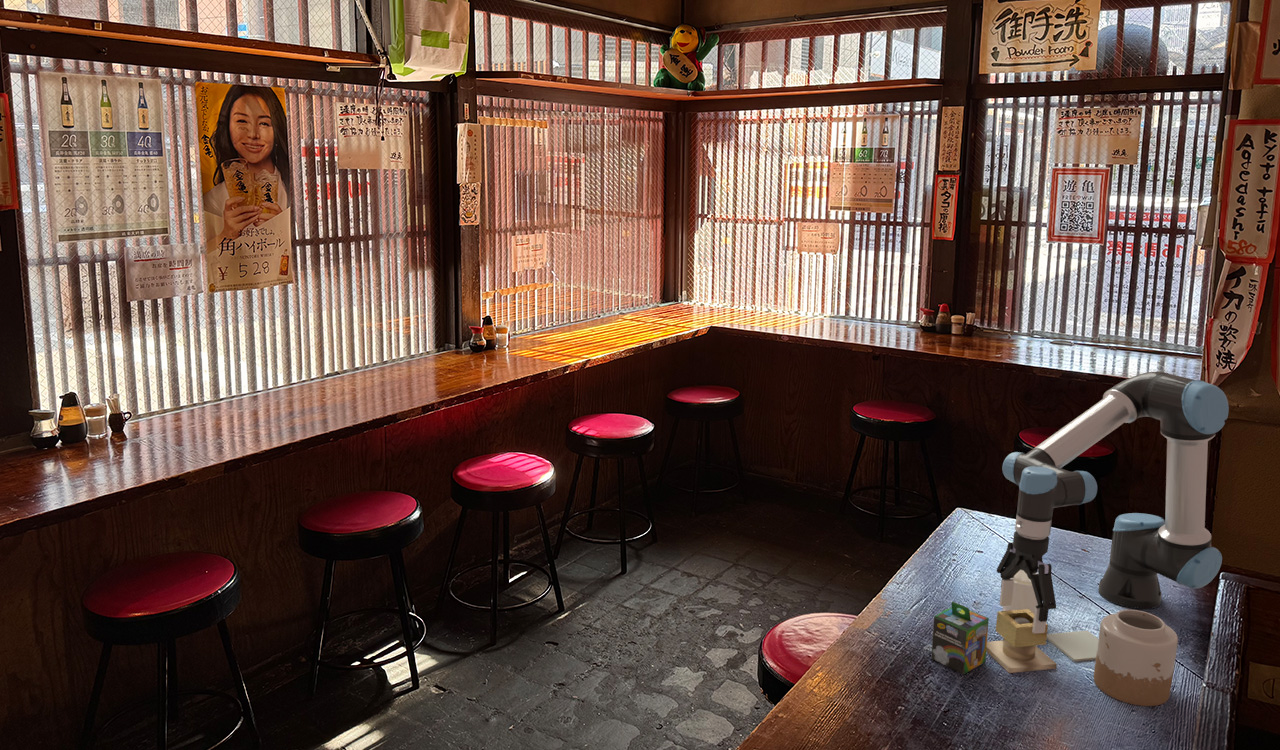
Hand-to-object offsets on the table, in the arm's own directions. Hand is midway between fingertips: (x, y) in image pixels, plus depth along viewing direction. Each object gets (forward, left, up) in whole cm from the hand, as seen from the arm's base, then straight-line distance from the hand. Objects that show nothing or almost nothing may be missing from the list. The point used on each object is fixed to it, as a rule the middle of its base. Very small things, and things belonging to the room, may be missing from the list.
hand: (1021, 618), depth 220 cm
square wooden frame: (0, 0, -5) cm, 5 cm away
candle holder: (-11, -17, -10) cm, 23 cm away
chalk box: (+15, -1, -11) cm, 18 cm away
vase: (-18, +16, -11) cm, 26 cm away
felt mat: (-18, -2, -10) cm, 21 cm away
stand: (0, 0, -10) cm, 10 cm away
